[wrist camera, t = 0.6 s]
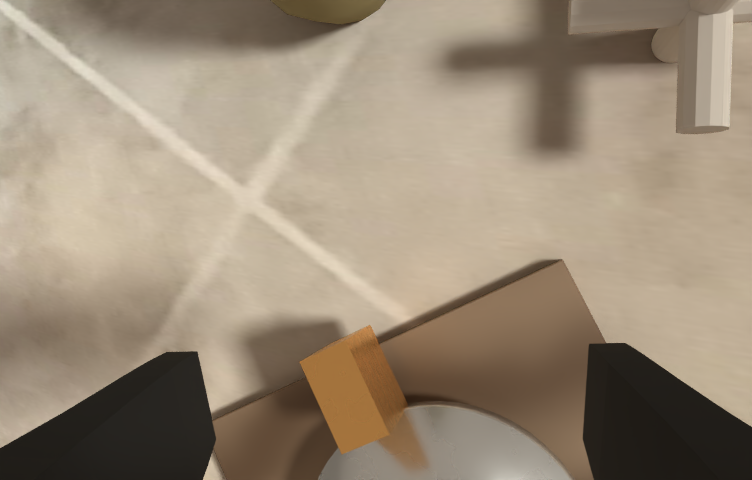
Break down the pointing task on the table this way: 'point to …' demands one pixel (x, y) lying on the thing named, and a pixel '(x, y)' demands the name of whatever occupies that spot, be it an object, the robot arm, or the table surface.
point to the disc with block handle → (413, 426)
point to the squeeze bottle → (330, 9)
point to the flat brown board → (447, 380)
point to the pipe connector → (679, 48)
